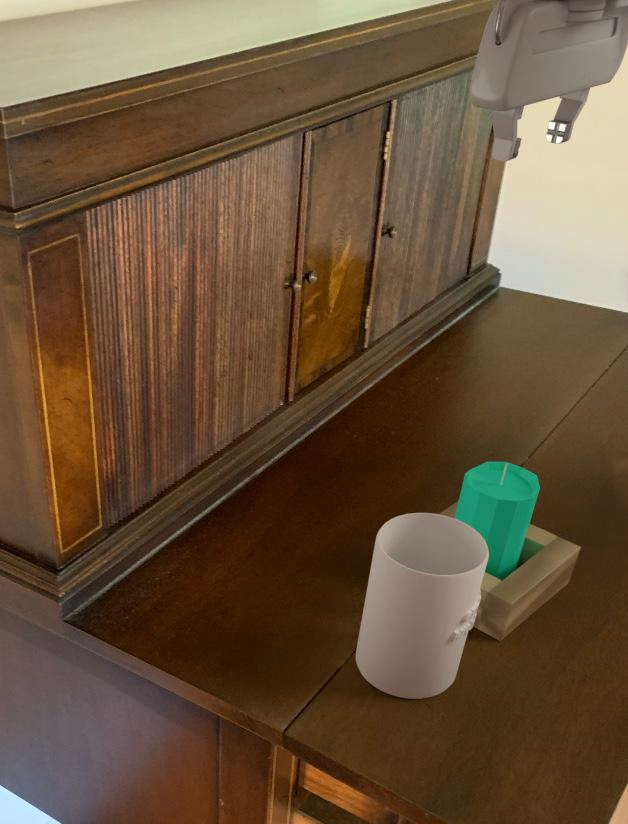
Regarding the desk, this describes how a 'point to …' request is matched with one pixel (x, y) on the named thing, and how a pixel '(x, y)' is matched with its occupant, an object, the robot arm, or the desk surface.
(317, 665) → the desk surface
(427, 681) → the mug
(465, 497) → the candle
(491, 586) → the frame
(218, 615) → the desk surface
